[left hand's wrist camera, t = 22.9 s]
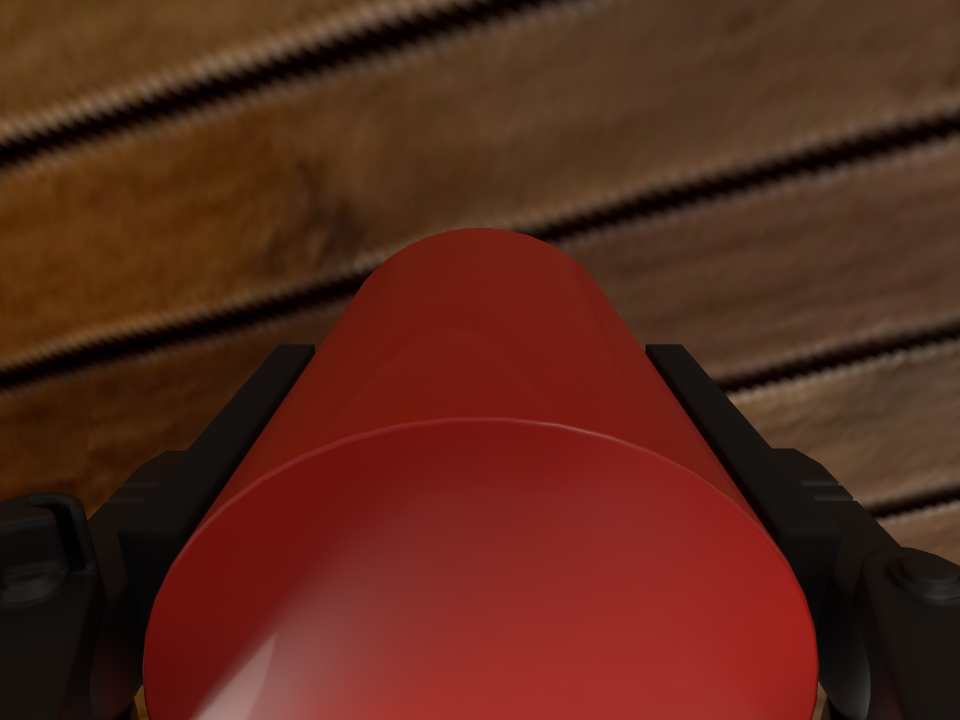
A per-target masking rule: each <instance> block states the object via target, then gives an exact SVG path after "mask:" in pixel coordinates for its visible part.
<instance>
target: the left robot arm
mask: <svg viewBox="0 0 960 720" xmlns="http://www.w3.org/2000/svg"><path fill="white" fill-rule="evenodd" d="M645 354H646V355H647V357H648V358H649V359H650V361H651V362H652V364H653V365H654V367H655V368H656V370H657V371H658V373H659V374H660V375H661V377H662V378H663V380H664V381H665V383H666V384H667V386H668V387H669V389H670V390H671V392H672V393H673V394H674V396H675V397H676V399H677V400H678V402H679V403H680V405H681V406H682V408H683V409H684V410H685V412H686V413H687V415H688V416H689V418H690V419H691V421H692V422H693V424H694V425H695V426H696V428H697V429H698V431H699V432H700V434H701V435H702V437H703V438H704V440H705V441H706V443H707V444H708V445H709V447H710V448H711V450H712V451H713V453H714V454H715V456H716V457H717V459H718V460H719V461H720V463H721V464H722V466H723V467H724V469H725V470H726V472H727V473H728V475H729V476H730V478H731V479H732V480H733V482H734V483H735V485H736V486H737V488H738V489H739V491H740V492H741V494H742V495H743V496H744V498H745V499H746V501H747V502H748V504H749V505H750V507H751V508H752V510H753V511H754V512H755V514H756V515H757V517H758V518H759V520H760V521H761V523H762V524H763V526H764V527H765V529H766V530H767V531H768V533H769V534H770V536H771V537H772V539H773V540H774V542H775V543H776V545H777V546H778V547H779V549H780V550H781V552H782V553H783V555H784V556H785V558H786V559H787V561H788V562H789V564H790V566H791V568H792V570H793V572H794V574H795V576H796V578H797V580H798V582H799V584H800V586H801V588H802V590H803V592H804V594H805V597H806V600H807V604H808V607H809V610H810V614H811V617H812V620H813V624H814V627H815V633H816V642H817V651H818V660H819V674H818V681H819V682H820V684H821V686H822V687H823V689H824V691H825V692H826V694H827V696H826V700H825V704H824V708H823V711H822V715H821V719H820V720H960V566H959V565H957V564H954V563H952V562H950V561H948V560H946V559H944V558H942V557H939V556H937V555H935V554H931V553H928V552H924V551H921V550H917V549H914V548H907V547H901V546H900V545H899V544H898V543H897V542H896V541H895V540H894V539H893V538H892V537H891V536H890V535H889V534H888V533H887V532H886V531H885V530H884V529H883V528H882V526H881V525H880V524H879V523H878V522H877V521H876V520H875V519H874V518H873V517H872V516H871V515H870V514H869V513H868V512H867V511H866V510H865V509H864V508H863V507H862V506H861V505H860V504H859V503H858V502H857V501H853V497H852V496H851V495H850V493H849V492H848V491H847V490H846V489H845V488H844V487H843V486H839V485H838V481H837V480H836V479H835V478H834V477H833V476H832V475H831V474H830V473H829V472H828V471H827V470H826V469H825V468H824V467H823V466H822V465H821V464H820V463H818V462H817V461H815V460H813V459H811V458H810V457H808V456H806V455H804V454H803V453H801V452H799V451H797V450H796V449H772V448H771V447H770V446H769V445H768V444H767V443H766V441H765V440H764V439H763V438H762V437H761V436H760V434H759V433H758V432H757V431H756V430H755V429H754V428H753V426H752V425H751V424H750V423H749V422H748V421H747V419H746V418H745V417H744V416H743V415H742V414H741V413H740V411H739V410H738V409H737V408H736V407H735V406H734V404H733V403H732V402H731V401H730V400H729V399H728V398H727V396H726V395H725V394H724V393H723V392H722V391H721V390H720V388H719V387H718V386H717V385H716V384H715V383H714V381H713V380H712V379H711V378H710V377H709V376H708V375H707V373H706V372H705V371H704V370H703V369H702V368H701V366H700V365H699V364H698V363H697V362H696V361H695V360H694V358H693V357H692V356H691V355H690V354H689V353H688V351H687V350H686V349H685V348H684V347H683V346H682V345H646V351H645ZM314 355H315V347H314V345H278V346H277V347H276V348H275V350H274V351H273V352H272V353H271V354H270V355H269V357H268V358H267V359H266V360H265V361H264V362H263V363H262V365H261V366H260V367H259V368H258V369H257V370H256V372H255V373H254V374H253V375H252V376H251V377H250V378H249V380H248V381H247V382H246V383H245V384H244V385H243V387H242V388H241V389H240V390H239V391H238V392H237V393H236V395H235V396H234V397H233V398H232V399H231V400H230V402H229V403H228V404H227V405H226V406H225V407H224V408H223V410H222V411H221V412H220V413H219V414H218V415H217V417H216V418H215V419H214V420H213V421H212V422H211V423H210V425H209V426H208V427H207V428H206V429H205V430H204V432H203V433H202V434H201V435H200V436H199V437H198V438H197V440H196V441H195V442H194V443H193V444H192V445H191V447H190V448H189V449H188V450H187V451H165V452H164V453H162V454H160V455H159V456H157V457H155V458H153V459H152V460H150V461H148V462H146V463H145V464H143V465H141V466H140V467H139V468H138V469H137V470H136V471H135V472H134V473H133V474H132V475H131V476H130V477H129V478H128V479H127V480H126V481H125V482H124V483H123V487H122V488H119V489H118V490H117V491H116V492H115V493H114V494H113V495H112V496H111V497H110V498H109V499H108V503H104V504H103V505H102V506H101V507H100V508H99V509H98V510H97V511H96V512H95V513H94V515H93V516H92V517H91V518H90V519H89V520H88V521H87V518H86V514H85V510H84V507H83V503H82V501H81V500H80V499H78V498H77V497H75V496H74V495H72V494H67V493H60V492H45V493H33V494H28V495H24V496H20V497H16V498H12V499H8V500H5V501H3V502H0V720H139V719H138V712H137V708H136V704H135V700H134V697H135V695H136V693H137V692H138V690H139V688H140V687H141V685H142V683H143V673H142V666H143V655H144V644H145V633H146V629H147V626H148V622H149V618H150V615H151V611H152V608H153V604H154V601H155V598H156V596H157V593H158V591H159V589H160V587H161V585H162V583H163V581H164V579H165V577H166V575H167V573H168V571H169V569H170V566H171V565H172V563H173V562H174V560H175V559H176V557H177V556H178V554H179V553H180V551H181V550H182V548H183V547H184V545H185V544H186V543H187V541H188V540H189V538H190V537H191V535H192V534H193V532H194V531H195V529H196V528H197V526H198V525H199V523H200V522H201V521H202V519H203V518H204V516H205V515H206V513H207V512H208V510H209V509H210V507H211V506H212V504H213V503H214V501H215V500H216V499H217V497H218V496H219V494H220V493H221V491H222V490H223V488H224V487H225V485H226V484H227V482H228V481H229V479H230V478H231V477H232V475H233V474H234V472H235V471H236V469H237V468H238V466H239V465H240V463H241V462H242V460H243V459H244V458H245V456H246V455H247V453H248V452H249V450H250V449H251V447H252V446H253V444H254V443H255V441H256V440H257V438H258V437H259V436H260V434H261V433H262V431H263V430H264V428H265V427H266V425H267V424H268V422H269V421H270V419H271V418H272V416H273V415H274V414H275V412H276V411H277V409H278V408H279V406H280V405H281V403H282V402H283V400H284V399H285V397H286V396H287V394H288V393H289V392H290V390H291V389H292V387H293V386H294V384H295V383H296V381H297V380H298V378H299V377H300V375H301V374H302V372H303V371H304V370H305V368H306V367H307V365H308V364H309V362H310V361H311V359H312V358H313V356H314Z"/></svg>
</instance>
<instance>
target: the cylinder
mask: <svg viewBox="0 0 960 720" xmlns="http://www.w3.org/2000/svg"><path fill="white" fill-rule="evenodd" d="M142 673H143V685H144V696H145V704H146V708H147V712H148V716H149V719H150V720H812V717H813V712H814V708H815V704H816V700H817V689H818V674H819V660H818V651H817V642H816V633H815V627H814V624H813V620H812V617H811V614H810V610H809V607H808V604H807V600H806V597H805V594H804V592H803V590H802V588H801V586H800V584H799V582H798V580H797V578H796V576H795V574H794V572H793V570H792V568H791V566H790V564H789V562H788V561H787V559H786V558H785V556H784V555H783V553H782V552H781V550H780V549H779V547H778V546H777V545H776V543H775V542H774V540H773V539H772V537H771V536H770V534H769V533H768V531H767V530H766V529H765V527H764V526H763V524H762V523H761V521H760V520H759V518H758V517H757V515H756V514H755V512H754V511H753V510H752V508H751V507H750V505H749V504H748V502H747V501H746V499H745V498H744V496H743V495H742V494H741V492H740V491H739V489H738V488H737V486H736V485H735V483H734V482H733V480H732V479H731V478H730V476H729V475H728V473H727V472H726V470H725V469H724V467H723V466H722V464H721V463H720V461H719V460H718V459H717V457H716V456H715V454H714V453H713V451H712V450H711V448H710V447H709V445H708V444H707V443H706V441H705V440H704V438H703V437H702V435H701V434H700V432H699V431H698V429H697V428H696V426H695V425H694V424H693V422H692V421H691V419H690V418H689V416H688V415H687V413H686V412H685V410H684V409H683V408H682V406H681V405H680V403H679V402H678V400H677V399H676V397H675V396H674V394H673V393H672V392H671V390H670V389H669V387H668V386H667V384H666V383H665V381H664V380H663V378H662V377H661V375H660V374H659V373H658V371H657V370H656V368H655V367H654V365H653V364H652V362H651V361H650V359H649V358H648V357H647V355H646V354H645V352H644V351H643V349H642V348H641V346H640V345H639V343H638V342H637V341H636V339H635V338H634V336H633V335H632V333H631V332H630V330H629V329H628V327H627V326H626V324H625V323H624V322H623V320H622V319H621V317H620V316H619V314H618V313H617V311H616V310H615V308H614V307H613V306H612V304H611V303H610V301H609V300H608V298H607V297H606V295H605V294H604V293H603V291H602V290H601V288H600V287H599V286H598V284H597V283H596V282H595V280H594V279H593V278H592V277H591V276H590V275H589V274H588V273H587V272H586V271H585V270H584V269H583V268H582V267H581V266H580V265H579V264H578V263H577V262H575V261H574V260H573V259H572V258H570V257H569V256H568V255H566V254H565V253H563V252H562V251H560V250H558V249H557V248H555V247H553V246H551V245H550V244H548V243H546V242H543V241H541V240H538V239H536V238H533V237H531V236H528V235H524V234H521V233H517V232H513V231H509V230H501V229H493V228H467V229H460V230H453V231H447V232H444V233H440V234H436V235H433V236H429V237H427V238H425V239H422V240H420V241H418V242H415V243H413V244H411V245H409V246H407V247H406V248H404V249H402V250H401V251H399V252H397V253H396V254H394V255H393V256H391V257H390V258H389V259H388V260H386V261H385V262H384V263H383V264H381V265H380V266H379V267H378V268H377V269H376V270H375V271H374V272H373V273H372V274H371V275H370V276H369V277H368V279H367V280H366V281H365V282H364V284H363V285H362V286H361V288H360V289H359V291H358V292H357V293H356V295H355V296H354V298H353V299H352V301H351V302H350V304H349V305H348V307H347V308H346V309H345V311H344V312H343V314H342V315H341V317H340V318H339V320H338V321H337V323H336V324H335V326H334V327H333V328H332V330H331V331H330V333H329V334H328V336H327V337H326V339H325V340H324V342H323V343H322V345H321V346H320V348H319V349H318V350H317V352H316V353H315V355H314V356H313V358H312V359H311V361H310V362H309V364H308V365H307V367H306V368H305V370H304V371H303V372H302V374H301V375H300V377H299V378H298V380H297V381H296V383H295V384H294V386H293V387H292V389H291V390H290V392H289V393H288V394H287V396H286V397H285V399H284V400H283V402H282V403H281V405H280V406H279V408H278V409H277V411H276V412H275V414H274V415H273V416H272V418H271V419H270V421H269V422H268V424H267V425H266V427H265V428H264V430H263V431H262V433H261V434H260V436H259V437H258V438H257V440H256V441H255V443H254V444H253V446H252V447H251V449H250V450H249V452H248V453H247V455H246V456H245V458H244V459H243V460H242V462H241V463H240V465H239V466H238V468H237V469H236V471H235V472H234V474H233V475H232V477H231V478H230V479H229V481H228V482H227V484H226V485H225V487H224V488H223V490H222V491H221V493H220V494H219V496H218V497H217V499H216V500H215V501H214V503H213V504H212V506H211V507H210V509H209V510H208V512H207V513H206V515H205V516H204V518H203V519H202V521H201V522H200V523H199V525H198V526H197V528H196V529H195V531H194V532H193V534H192V535H191V537H190V538H189V540H188V541H187V543H186V544H185V545H184V547H183V548H182V550H181V551H180V553H179V554H178V556H177V557H176V559H175V560H174V562H173V563H172V565H171V566H170V569H169V571H168V573H167V575H166V577H165V579H164V581H163V583H162V585H161V587H160V589H159V591H158V593H157V596H156V598H155V601H154V604H153V608H152V611H151V615H150V618H149V622H148V626H147V629H146V633H145V644H144V655H143V666H142Z"/></svg>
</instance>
